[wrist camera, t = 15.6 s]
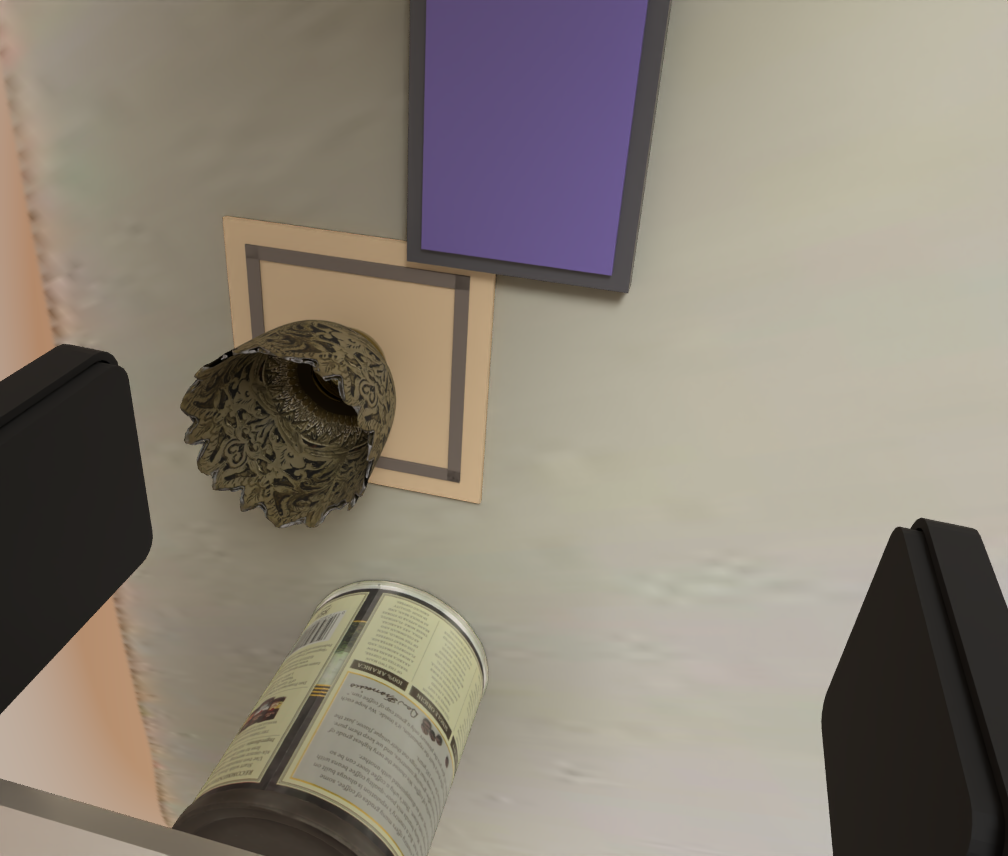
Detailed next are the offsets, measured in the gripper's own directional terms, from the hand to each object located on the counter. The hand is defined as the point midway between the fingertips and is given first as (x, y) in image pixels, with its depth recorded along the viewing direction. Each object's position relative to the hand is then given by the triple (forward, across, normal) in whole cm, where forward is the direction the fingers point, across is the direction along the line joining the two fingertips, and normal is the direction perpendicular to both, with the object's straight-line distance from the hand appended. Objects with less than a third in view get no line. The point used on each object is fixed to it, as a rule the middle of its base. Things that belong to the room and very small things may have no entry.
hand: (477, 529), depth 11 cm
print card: (+25, +11, +12) cm, 30 cm away
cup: (+24, +11, +12) cm, 29 cm away
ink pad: (+25, +5, +1) cm, 25 cm away
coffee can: (+24, +9, +29) cm, 39 cm away
